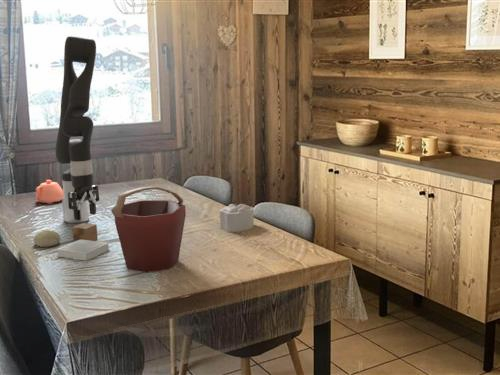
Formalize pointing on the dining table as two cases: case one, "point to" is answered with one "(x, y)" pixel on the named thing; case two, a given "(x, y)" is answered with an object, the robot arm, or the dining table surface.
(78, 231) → the walnut cube
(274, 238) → the dining table surface
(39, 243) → the sea urchin shell
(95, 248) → the tray
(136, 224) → the bucket
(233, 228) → the lumpy-topped squat cylinder
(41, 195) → the sugar bowl
